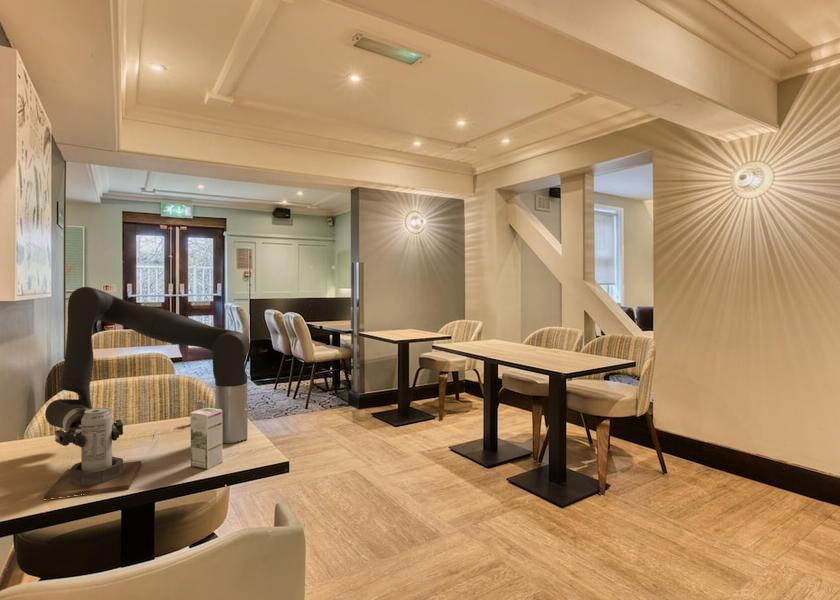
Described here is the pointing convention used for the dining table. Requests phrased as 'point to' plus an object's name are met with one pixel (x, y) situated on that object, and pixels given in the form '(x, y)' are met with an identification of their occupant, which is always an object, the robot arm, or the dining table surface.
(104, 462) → the energy drink can
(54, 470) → the dining table surface
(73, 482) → the can holder
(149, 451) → the dining table surface
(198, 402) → the rook chess piece
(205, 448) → the syrup box
